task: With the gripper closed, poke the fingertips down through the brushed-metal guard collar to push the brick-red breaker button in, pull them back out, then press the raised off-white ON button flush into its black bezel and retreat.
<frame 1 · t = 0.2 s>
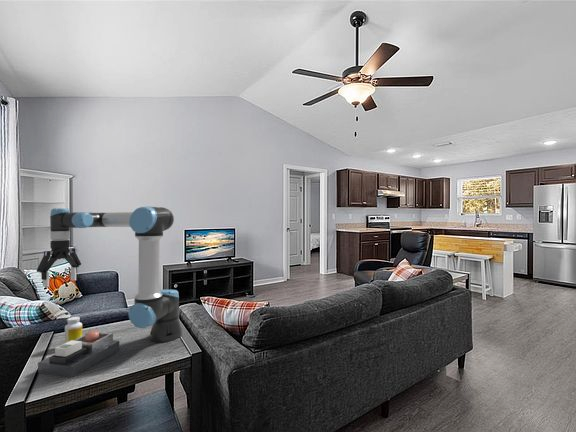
hand: (60, 283, 142), 28 cm above the table, fingers open, 13 cm apart
grey stepped block: (82, 360, 122), on the table
on button: (68, 348, 116), point 8 cm above the table, slide at 0.0 cm
supplement bottle: (73, 346, 135), on the table
breaker button: (92, 336, 127), point 8 cm above the table, slide at 0.0 cm
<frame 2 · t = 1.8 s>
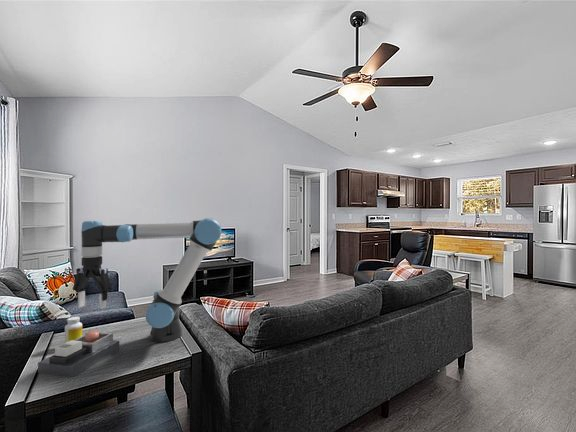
hand: (92, 307, 127), 21 cm above the table, fingers open, 10 cm apart
nothing on the table moved.
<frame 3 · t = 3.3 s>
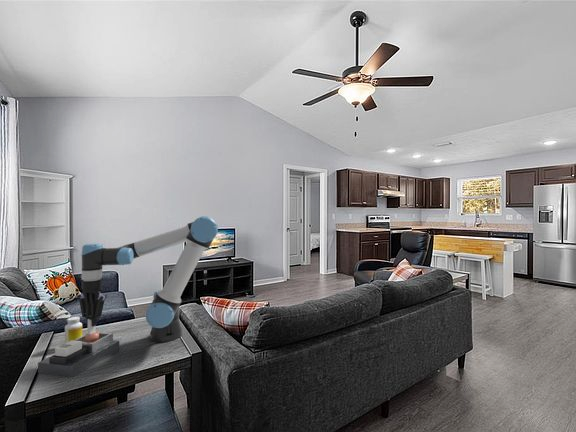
hand: (91, 333, 127), 9 cm above the table, fingers closed
breaker button: (92, 337, 127), point 8 cm above the table, slide at -0.5 cm, touching gripper
everything else where it was.
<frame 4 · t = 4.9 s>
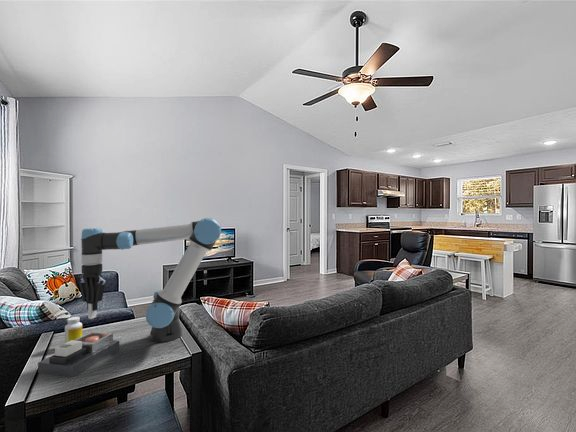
hand: (92, 317, 127), 16 cm above the table, fingers closed
breaker button: (92, 341, 127), point 6 cm above the table, slide at -2.3 cm
everything else where it was.
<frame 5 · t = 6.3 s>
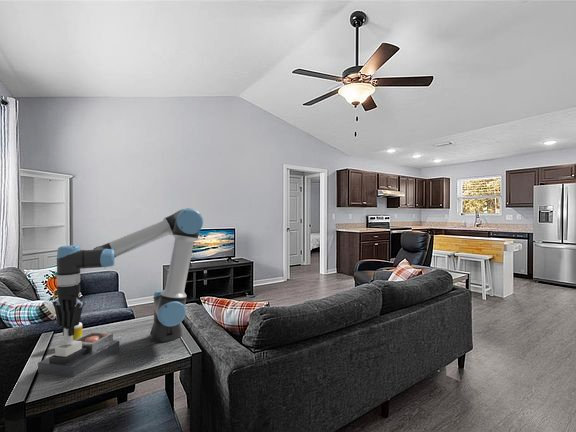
hand: (68, 343, 116), 10 cm above the table, fingers closed
on button: (68, 348, 116), point 8 cm above the table, slide at 0.0 cm, touching gripper
everything else where it was.
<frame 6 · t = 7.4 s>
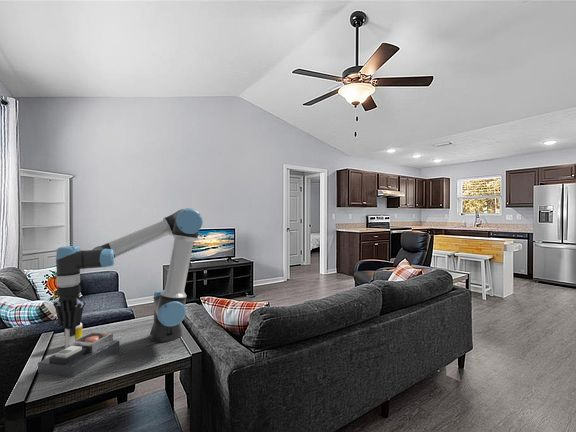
hand: (70, 343, 116), 9 cm above the table, fingers closed
on button: (68, 353, 116), point 6 cm above the table, slide at -2.2 cm, touching grey stepped block
everything else where it was.
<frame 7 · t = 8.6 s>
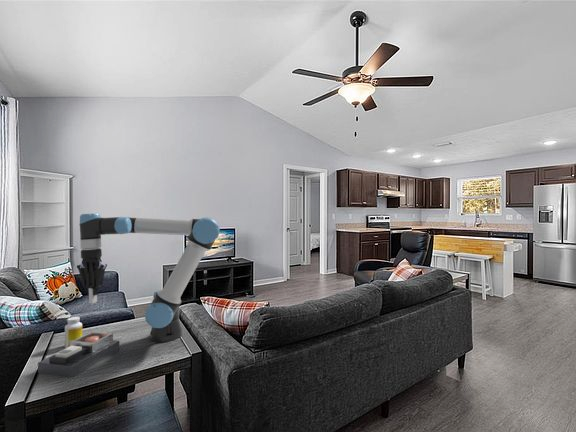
hand: (93, 302, 127), 23 cm above the table, fingers closed
nothing on the table moved.
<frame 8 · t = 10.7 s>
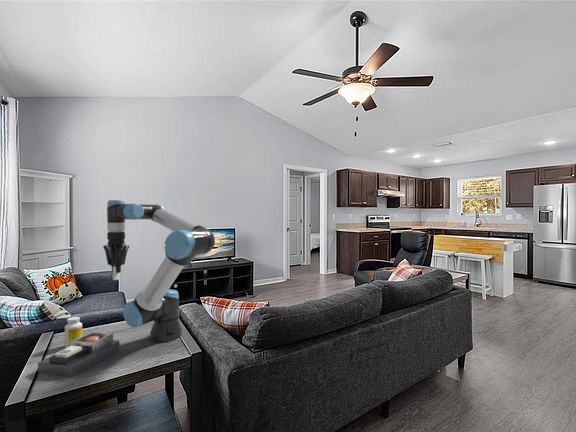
hand: (116, 279, 143), 29 cm above the table, fingers closed
nothing on the table moved.
at the end: breaker button slide at -2.3 cm; on button slide at -2.2 cm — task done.
